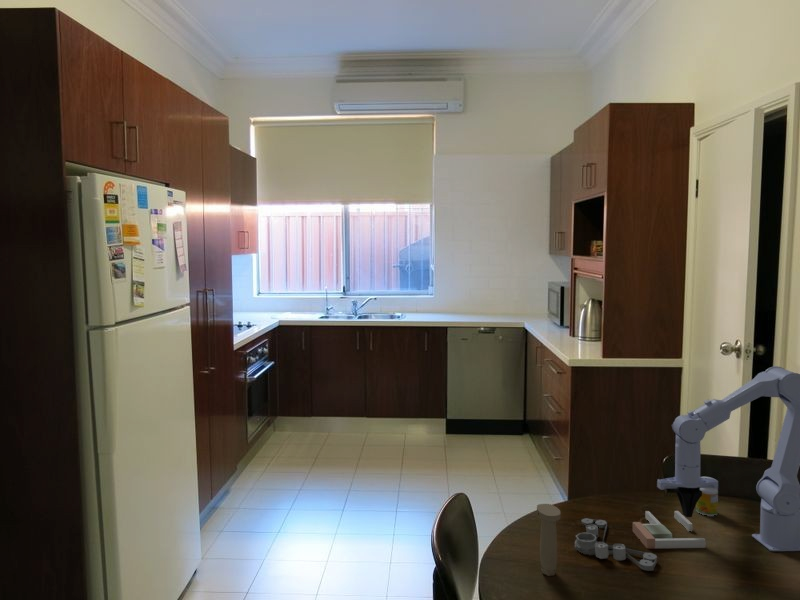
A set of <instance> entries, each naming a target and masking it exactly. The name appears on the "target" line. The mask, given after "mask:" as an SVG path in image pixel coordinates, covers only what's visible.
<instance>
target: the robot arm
mask: <svg viewBox="0 0 800 600" xmlns="http://www.w3.org/2000/svg"><path fill="white" fill-rule="evenodd" d="M761 397H769V398H779V399H780V400H781V401H782V403H783V405H785V406H786V412H785V416H784V420H783V422H782V427H781V431H780V434H779V438H778V441H777V445H776V448H775V452H774V456H773V459H772V464H771V466H770V467H768V468H767V469H766V470H764V473H763V475H762V476H761V478H760V479H759V480H758V481H757V484H756V487H755V489H756V493H757V494H758V496H759V497H760V499H761V500H760V518H759V519H760V522H759V533H753V534H751V537H752V538H754V539H755V540H756V541H757V542H759V543H760V544H761V545H762V546H763V547H765V548H766V549H768V551H770V552H800V482H799V478H798V474H799V470H800V373H797V372H793V371H790V370H788V369H785V368H784V367H781V366H775V365H774V366H771V367H768V368H767V369H765V371H761V372H759V373H757V374H756V375H755V376H754V378H752V379H751V380H749V381H748V382H746V383H745V384H743V385H742V386H741V387H739V388H738V389H736V390H734V391H733V392H732V393H730V394H728V395H727V396H726V397H724V398H722V399H716V398H712V399H711V400H710V399H706V400H704V401H703V403H704V404H702V405H701V406H699V407H698V408H696V409H694V410H689V411H688V412H687V414H681V415H678V416H677V417H676V418H675V419H674V421H673V423H672V424H671V428H672V431H673V432H674V433H675V443H674V444H675V445H674V447H675V449H674V450H675V451H674V453H675V454H674V458H675V459H674V463H675V464H674V466H675V467H674V469H675V470H674V476H673V477H667V478H662V479H660V478H658V479H657V481H656V487H657V488H658V489H659V490H661V491H663V490H666V489H673V490H674V492H675V494H676V496H677V498H678V501H679V504H680V506H681V512H682V515H683V516H684V517H685V518H693V514H694V511H695V509H696V503H697V502H698V500H699V499H700V497H701V496H702V491H701V490H700V488H714V489H718V490H719V480H717V479H715V478H713V477H711V478H700V477H701V442H702V441H703V439H704V438H705V435H706V433H707V432H709V431H711V430H712V429H714V428H717V426H720V425H721V424H723V423H724V422H726V421H728V420H730V418H731V413H732V412H733V411H735V410H737V409H739V408H741V407H743V406H745V405H747V404H749V403H751V402H753V401H754V400H757V399H759V398H761Z"/></svg>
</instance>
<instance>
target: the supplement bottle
mask: <svg viewBox="0 0 800 600" xmlns="http://www.w3.org/2000/svg"><path fill="white" fill-rule="evenodd" d="M700 478H712V477H710V476H700ZM700 490H701V491H702V496H701V497H700V499H699V500H698V502H697V503H696V505H695V511H696V512H697V513H698V514H699V513H700V514H699V515H701V514H702V515H701V516H704V515H707V516H706V517H715V516H714V515H716V516H718V512H719V511H718V509H719V488H718V489H714V488H700Z"/></svg>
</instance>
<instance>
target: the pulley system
mask: <svg viewBox="0 0 800 600" xmlns="http://www.w3.org/2000/svg"><path fill="white" fill-rule="evenodd" d="M594 522H595V523H594ZM583 524H584V525H585V526H584V525H583ZM581 525H583V526H584V527H585V530H586V532H579V533H577V534H576V535H575V538H576V539H575V540H574V550H576V551H577V550H578V551H579V553H580V552H581V553H580V554H582V553H583V554H582V555H586V554H589V555H588V556H595V557H596V558H599V559H600V560H603V559H604V560H605V559H608V558H609V555H613V556H612V557H613V559H615V561H625V560H626V558H628V559H629V560H630V561H632V562H633V563H634V564H635V565H636V566H637V567H639V568H640V569H641V570H643V571H645V572H649V571H654V569H655V567H656V565H657V563H658V556H657V555H656V554H655V553H652V552H646V551H645V552H644V551H640V550H634V549H631V548H626V546H625V544H623V543H614V544H613V545H611V544H608V543H606V542H605V537H606V533H607V530H608V522H607V521H606V520H603V519H592V518H582V519H581ZM598 527H599V528H598ZM599 529H604V531H603V537H602V541H597V540H598V537H600V534H599ZM578 551H577V552H578ZM630 554H633V555H638V556H642V559H640V560H639V561H638V560H637V559H636V558H634V557H633V556H631V555H630Z"/></svg>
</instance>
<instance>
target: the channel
mask: <svg viewBox="0 0 800 600" xmlns="http://www.w3.org/2000/svg"><path fill="white" fill-rule="evenodd" d="M673 513H674V515H673V518H674V520H676V521H677V522H678V523H679V524H680V523H681V524H682V525H683V526H684V527H685V528H686V529H685V528H684V527H683V526H682V525H681V524H680V525H681V526H682V527H683V528H684V529H685V530H686V531H687V532H689V531H691V532H693V526H694V525H693V523H692V522H691V521H690V520H689V519H688V518H687V517H686V516H685V515H683V513H681V512H680V511H679V510H674V512H673ZM644 516H645V517H644V518H645V520H646V521H647V520H648V521H649V522H648V523H642V525H643V526H644V525H663V524H662V523H661V522H660V521H659V520H658V518H656V517H655V516H654V514H653V513H652V512H650V511H649V510H645V515H644ZM706 543H707V540H706V539H705V538H704V537H687V538H685V537H679V538H677V537H676V538H675V537H672V538H664V539H655V548H654V549H706V548H707V547H706V546H707V545H706Z"/></svg>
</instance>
